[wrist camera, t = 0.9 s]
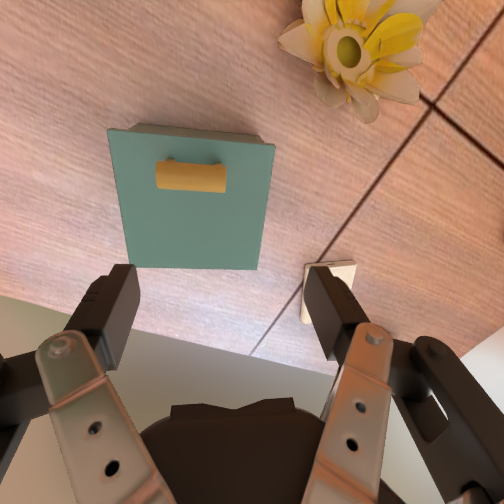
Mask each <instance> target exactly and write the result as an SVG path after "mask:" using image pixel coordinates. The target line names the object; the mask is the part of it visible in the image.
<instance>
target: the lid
mask: <svg viewBox="0 0 504 504" xmlns="http://www.w3.org/2000/svg"><path fill="white" fill-rule="evenodd" d="M107 134H108V140H109V146H110V152H111V158H112V164H113V170H114V176H115V181H116V187H117V193H118V199H119V205H120V211H121V217H122V223H123V229H124V234H125V240H126V246H127V252H128V258H129V264H134V265H135V267H139V268H185V269H232V270H257V266H258V260H259V253H260V247H261V240H262V233H263V227H264V220H265V214H266V207H267V200H268V194H269V187H270V181H271V174H272V167H273V161H274V154H275V148H276V146H275V145H274V144H269V143H259V142H249V141H239V140H229V139H218V138H208V137H198V136H188V135H178V134H167V133H157V132H147V131H137V130H127V129H116V128H109V129H107Z"/></svg>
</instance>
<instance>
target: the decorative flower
mask: <svg viewBox="0 0 504 504" xmlns="http://www.w3.org/2000/svg"><path fill="white" fill-rule="evenodd" d="M442 1H443V0H302V6H300V9H301V12H302V15H303V18H304V19H297V20H295V21H294V22H292V23H291V24H289V25H288V26H287V27H286V28H285V29H284V30H283V32H282V33H281V36H280V37H279V38H277V40H278V41H279V42H278V47H279V48H281V49H283V50H284V51H286V52H288V53H290V54H292V55H294V56H296V57H298V58H301V59H303V60H306V61H307V62H309V63H311V64H314V65H313V66H312V68H313V69H314V70H315V71H317V72H319V73H317V74H316V75H315V77H314V80H313V87H314V90H315V92H316V95H317V96H318V97H319V99H320V100H321V101H322V102H323V103H324V104H325V105H326V106H327V107H334V108H339V107H340V106H341V105H342V104H343V103H344V102H345V101H347V103H348V104H349V102H350V100H351V101H352V105H353V108H354V111H355V114H356V116H357V118H358V119H359V120H361V121H362V122H363V123H365V124H367V123H372V122H373V121H375V120H376V118H377V116H378V113H379V105H378V99H379V97H381V98H384V99H388V100H391V101H395V102H399V103H402V104H408V105H414V106H416V105H417V103H418V98H419V91H420V88H419V85H418V83H417V80H416V78H415V77H414V76H413V75H412V74H411V73H410V72H409V71H408V70H407V69H410V68H412V67H415V66H417V65H419V64H421V63H423V55H422V49H421V48H420V47H419V46H418V45H417V43H418V42H419V41H421V40H422V36H423V31H424V25H425V24H426V23H427V22H428V20H429V19H430V18H431V16H432V15H433V14H434V13H435V11H436V10H437V9H438V7H439V6H440V4H441V3H442Z"/></svg>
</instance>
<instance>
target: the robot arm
mask: <svg viewBox="0 0 504 504" xmlns="http://www.w3.org/2000/svg"><path fill="white" fill-rule="evenodd" d="M303 298H304V303H305V305H306V308H307V310H308V313H309V316H310V318H311V321H312V323H313V326H314V328H315V331H316V333H317V336H318V338H319V341H320V344H321V346H322V349H323V351H324V354H325V356H326V359H327V361H337V362H338V364H339V367H338V369H337V372H336V374H335V377H334V380H333V383H332V386H331V389H330V392H329V394H328V397H327V400H326V403H325V406H324V408H323V411H322V414H321V416H320V418H318V417H317V416H315V415H314V414H312V413H310V412H308V411H306V410H303V409H301V408H297V407H295V405H294V401H293V398H292V397H290V398H276V399H264V400H261V401H258V402H256V403H253V404H250V405H247V406H244V407H241V408H239V409H228V408H223V407H218V406H213V405H208V404H203V403H202V404H187V405H173V406H171V413H170V416H168V417H165V418H163V419H161V420H159V421H157V422H155V423H153V424H152V425H150V426H149V427H147V428H146V429H145V430H144V431H142V432H141V433H140V434H139V433H138V432H137V429H136V427H135V426H134V424H133V422H132V420H131V418H130V416H129V414H128V412H127V410H126V409H125V407H124V405H123V403H122V401H121V399H120V397H119V395H118V393H117V391H116V390H115V388H114V386H113V384H112V382H111V380H110V378H109V377H108V375H106V374H105V373H106V371H110V370H117V368H118V365H119V362H120V359H121V356H122V354H123V351H124V347H125V344H126V342H127V339H128V336H129V333H130V330H131V327H132V324H133V321H134V318H135V315H136V312H137V309H138V306H139V303H140V287H139V282H138V277H137V271H136V267H135V265H134V264H115V265H114V266H113V268H112V270H111V272H110V274H109V275H108V276H100V277H99V278H98V279H97V280H95V281H94V282H93V283H91V285H90V287H89V288H88V290H87V292H86V295H84V297H83V298H82V300H81V302H80V303H79V305H78V307H77V308H76V310H75V312H74V313H73V315H72V317H71V318H70V320H69V322H68V323H67V325H66V327H65V328H64V330H63V331H62V332H60V333H57V334H55V335H53V336H51V337H49V338H48V339H46V340H45V341H44V342H43V343H42V344H41V345H40V346H39V347H38V349H37V350H35V351H32V352H29V353H25V354H21V355H17V356H14V357H10V358H6V359H4V358H3V356H2V355H1V354H0V484H1V482H2V480H3V477H4V475H5V473H6V471H7V469H8V467H9V465H10V463H11V461H12V459H13V457H14V454H15V452H16V450H17V448H18V446H19V444H20V442H21V440H22V438H23V436H24V434H25V432H26V429H27V427H28V425H29V423H30V421H31V419H34V418H37V417H40V416H43V415H45V414H48V413H49V415H50V418H51V422H52V425H53V428H54V431H55V434H56V437H57V440H58V444H59V447H60V450H61V454H62V457H63V460H64V463H65V466H66V470H67V473H68V476H69V479H70V482H71V485H72V488H73V492H74V495H75V498H76V502H77V504H406V503H405V502H404V501H403V500H402V499H401V498H400V497H399V496H398V495H397V494H396V493H395V492H394V491H393V490H392V489H391V488H390V487H389V486H388V485H387V484H386V483H385V482H384V481H383V480H382V479H381V478H380V476H381V468H382V461H383V453H384V446H385V439H386V432H387V423H388V417H389V409H390V402H391V395H392V397H393V399H394V401H395V403H396V405H397V407H398V409H399V411H400V413H401V415H402V417H403V419H404V421H405V423H406V426H407V428H408V429H409V431H410V434H411V435H412V438H413V440H414V442H415V444H416V446H417V448H418V450H419V452H420V454H421V456H422V458H423V460H424V462H425V464H426V466H427V468H428V470H429V472H430V474H431V476H432V478H433V480H434V482H435V484H436V486H437V488H438V490H439V492H440V494H441V496H442V498H443V500H444V502H445V504H504V414H503V413H502V412H501V411H500V409H499V408H498V407H497V406H496V404H495V403H494V402H493V401H492V399H491V398H490V397H489V396H488V394H487V393H486V392H485V391H484V389H483V388H482V387H481V386H480V384H479V383H478V382H477V381H476V380H475V378H474V377H473V376H472V375H471V373H470V372H469V371H468V369H467V368H466V367H465V366H464V364H463V363H462V362H461V361H460V359H459V358H458V357H457V356H456V354H455V353H454V352H453V351H452V350H451V349H450V348H449V347H448V346H447V345H446V344H445V343H443V342H441V341H440V340H438V339H435V338H433V337H429V336H420V337H418V338H417V339H416V340H415V342H414V343H413V344H412V343H408V342H404V341H400V340H396V339H392V337H391V335H390V334H389V333H388V332H387V331H386V330H385V329H383V328H382V327H380V326H378V325H376V324H373V323H371V322H370V320H369V319H368V317H367V316H366V314H365V312H364V311H363V309H362V308H361V306H360V305H359V303H358V301H357V300H355V297H354V295H353V293H351V290H350V289H349V287H348V286H347V284H346V283H345V282H344V281H343V280H341V279H340V278H339V277H338V276H333V274H332V273H331V271H330V269H329V268H328V267H327V266H311V267H310V269H309V272H308V276H307V280H306V283H305V287H304V292H303ZM432 393H434V395H435V396H436V398H437V399H438V401H439V403H440V404H441V406H442V407H443V409H444V411H445V412H446V414H447V417H448V420H447V418H446V417H445V415H444V414H443V412H442V411H441V409H440V407H439V406H438V404H437V402H436V401H435V399H434V397H433V396H432Z"/></svg>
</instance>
